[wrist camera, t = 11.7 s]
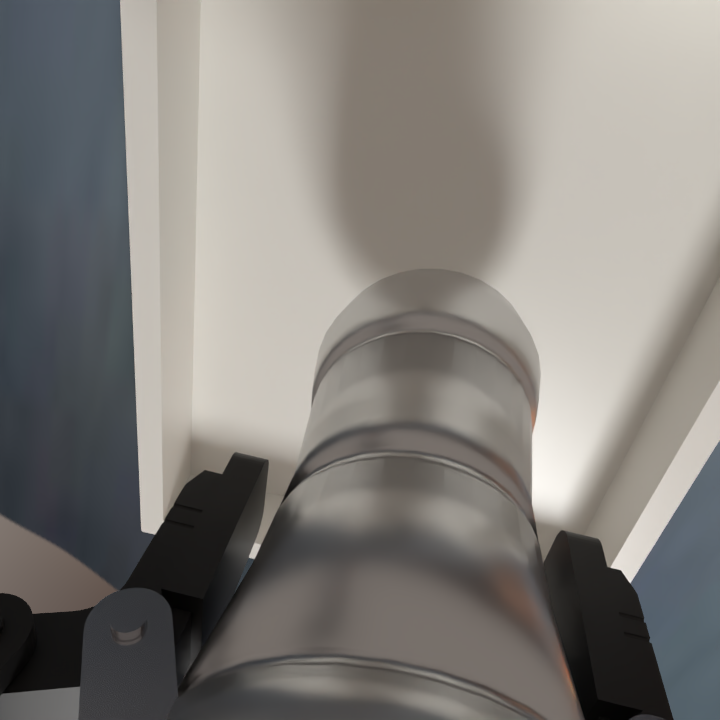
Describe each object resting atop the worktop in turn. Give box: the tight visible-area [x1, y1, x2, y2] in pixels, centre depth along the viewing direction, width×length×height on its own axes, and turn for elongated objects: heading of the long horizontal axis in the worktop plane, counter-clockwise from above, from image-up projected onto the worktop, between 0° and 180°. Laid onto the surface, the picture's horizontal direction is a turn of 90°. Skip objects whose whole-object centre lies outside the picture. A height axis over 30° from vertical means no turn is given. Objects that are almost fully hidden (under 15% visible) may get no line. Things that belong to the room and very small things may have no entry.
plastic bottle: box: [166, 269, 585, 720], centre depth 12 cm, size 6×7×20 cm
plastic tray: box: [120, 0, 720, 583], centre depth 21 cm, size 24×20×4 cm
